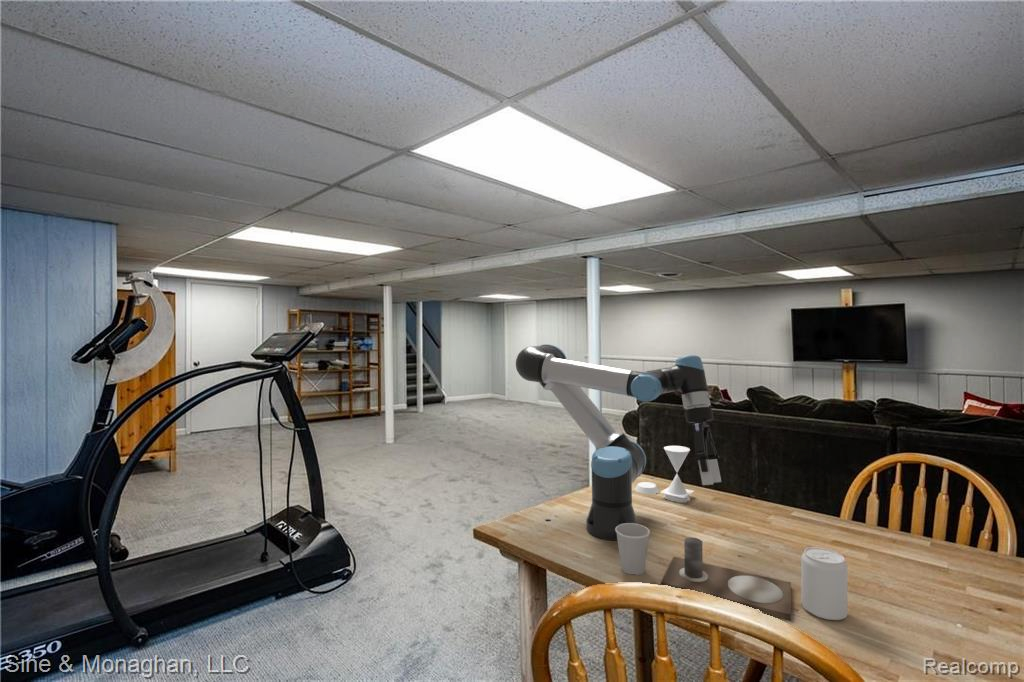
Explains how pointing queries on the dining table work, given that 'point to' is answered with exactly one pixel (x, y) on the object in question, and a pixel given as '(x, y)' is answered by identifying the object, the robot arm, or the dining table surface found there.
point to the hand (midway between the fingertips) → (712, 483)
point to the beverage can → (824, 583)
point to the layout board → (728, 582)
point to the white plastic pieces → (676, 488)
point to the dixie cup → (632, 547)
